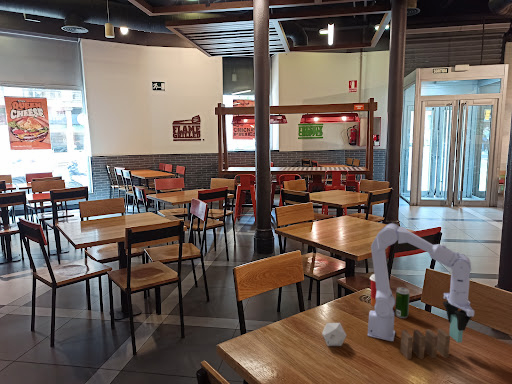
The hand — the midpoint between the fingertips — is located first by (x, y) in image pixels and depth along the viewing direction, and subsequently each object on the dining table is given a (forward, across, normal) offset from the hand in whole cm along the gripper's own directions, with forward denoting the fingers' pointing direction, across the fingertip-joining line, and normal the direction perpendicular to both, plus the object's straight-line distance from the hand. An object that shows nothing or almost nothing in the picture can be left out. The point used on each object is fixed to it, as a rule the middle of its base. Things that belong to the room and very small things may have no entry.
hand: (456, 325), depth 129 cm
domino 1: (+10, 0, +18) cm, 21 cm away
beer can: (+10, +28, +6) cm, 31 cm away
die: (+10, +9, +42) cm, 44 cm away
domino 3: (+10, 0, +9) cm, 14 cm away
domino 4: (+10, 0, +4) cm, 11 cm away
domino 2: (+10, 0, +14) cm, 17 cm away
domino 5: (+5, 0, 0) cm, 5 cm away
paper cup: (+10, +39, +13) cm, 42 cm away
